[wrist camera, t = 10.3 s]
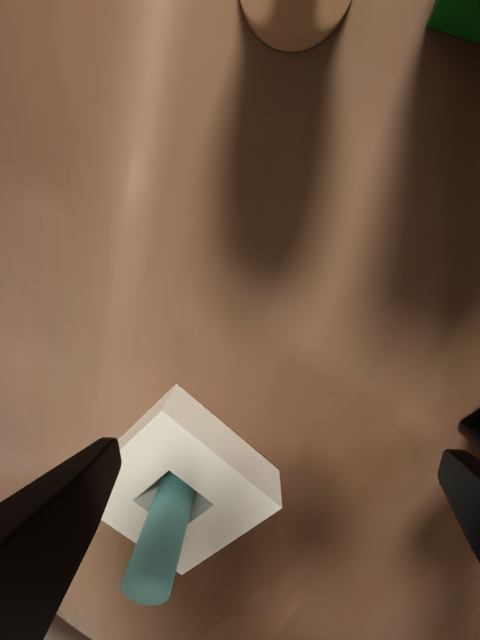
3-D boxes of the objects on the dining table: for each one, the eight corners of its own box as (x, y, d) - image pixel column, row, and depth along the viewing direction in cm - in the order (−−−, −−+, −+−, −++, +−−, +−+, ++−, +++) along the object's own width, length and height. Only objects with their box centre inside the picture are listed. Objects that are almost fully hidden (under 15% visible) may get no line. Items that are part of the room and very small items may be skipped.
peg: (207, 466, 25) (180, 592, 16) (186, 484, 25) (149, 612, 17) (182, 447, 24) (140, 565, 16) (161, 465, 25) (110, 587, 16)
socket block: (279, 470, 24) (282, 508, 21) (191, 533, 27) (181, 575, 24) (176, 383, 22) (161, 410, 19) (94, 462, 25) (69, 497, 22)
